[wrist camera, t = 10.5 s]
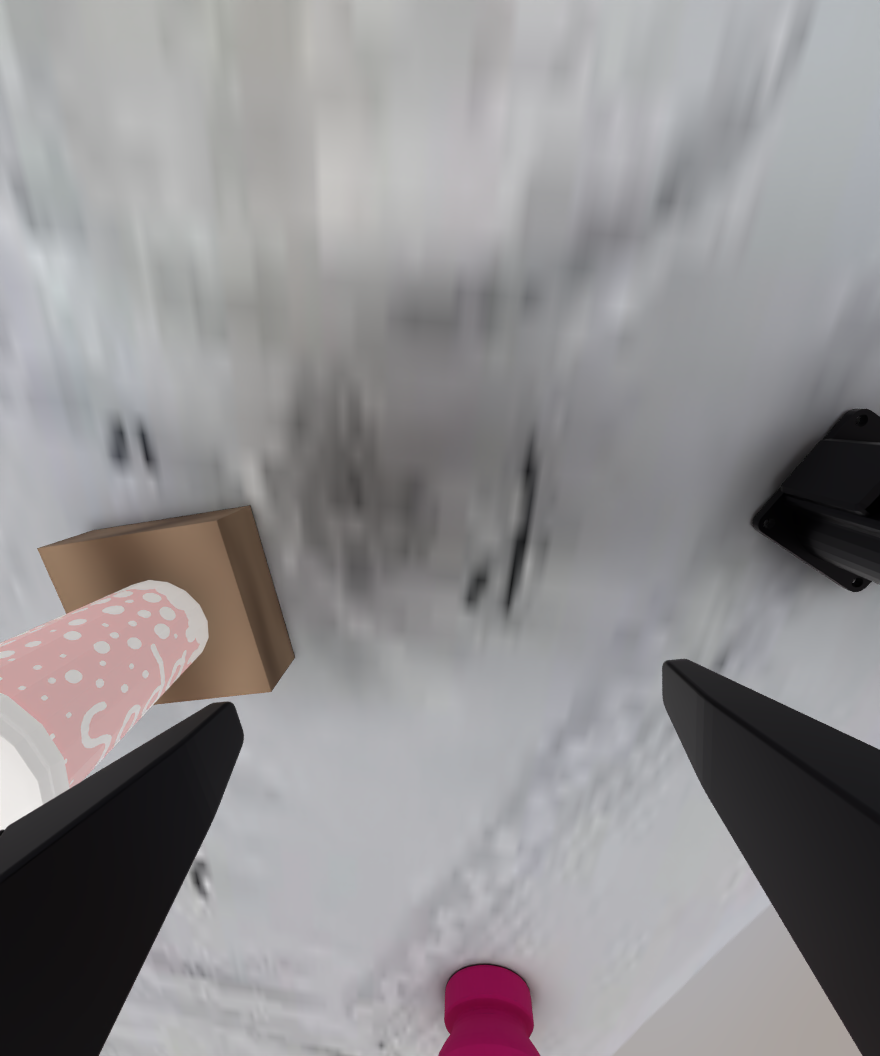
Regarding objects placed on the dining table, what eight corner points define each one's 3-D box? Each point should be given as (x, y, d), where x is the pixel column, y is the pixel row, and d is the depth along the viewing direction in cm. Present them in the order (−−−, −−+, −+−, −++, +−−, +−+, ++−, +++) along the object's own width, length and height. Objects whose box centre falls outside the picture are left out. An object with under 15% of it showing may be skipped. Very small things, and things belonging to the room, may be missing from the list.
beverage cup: (185, 699, 21) (-292, 1196, 8) (79, 628, 20) (-656, 1048, 7) (248, 618, 20) (-212, 1063, 6) (136, 538, 19) (-660, 853, 6)
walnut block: (250, 505, 21) (216, 520, 18) (294, 657, 24) (271, 691, 21) (92, 530, 22) (37, 548, 19) (150, 674, 25) (109, 709, 22)
